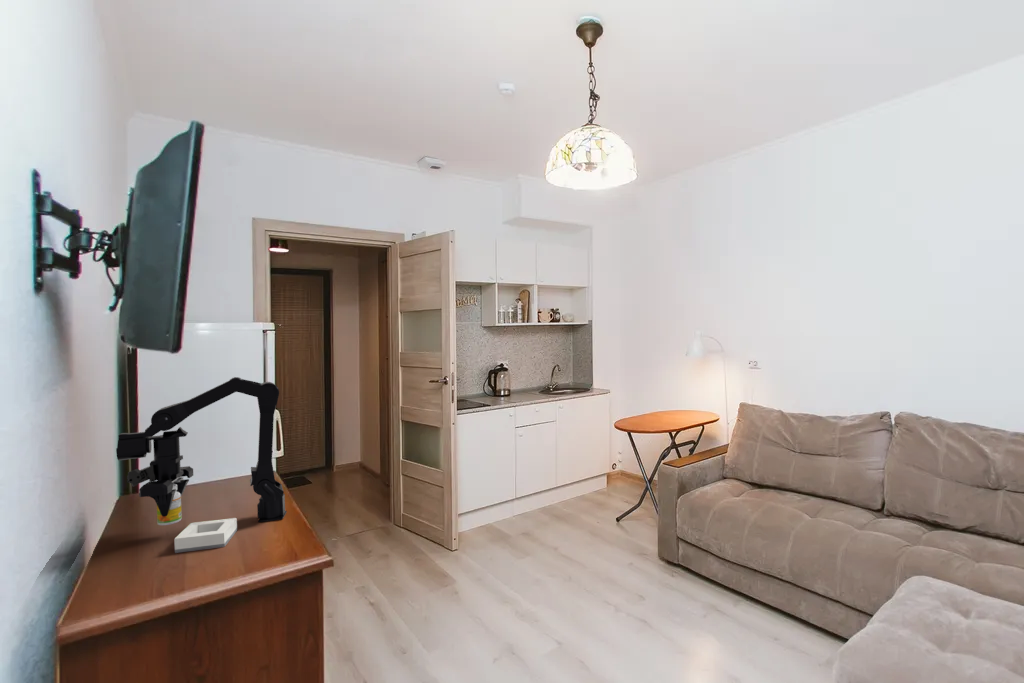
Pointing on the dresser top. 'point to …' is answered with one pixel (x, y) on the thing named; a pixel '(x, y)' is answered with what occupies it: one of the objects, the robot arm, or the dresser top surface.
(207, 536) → the socket block
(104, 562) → the dresser top surface
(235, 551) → the dresser top surface
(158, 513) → the supplement bottle
